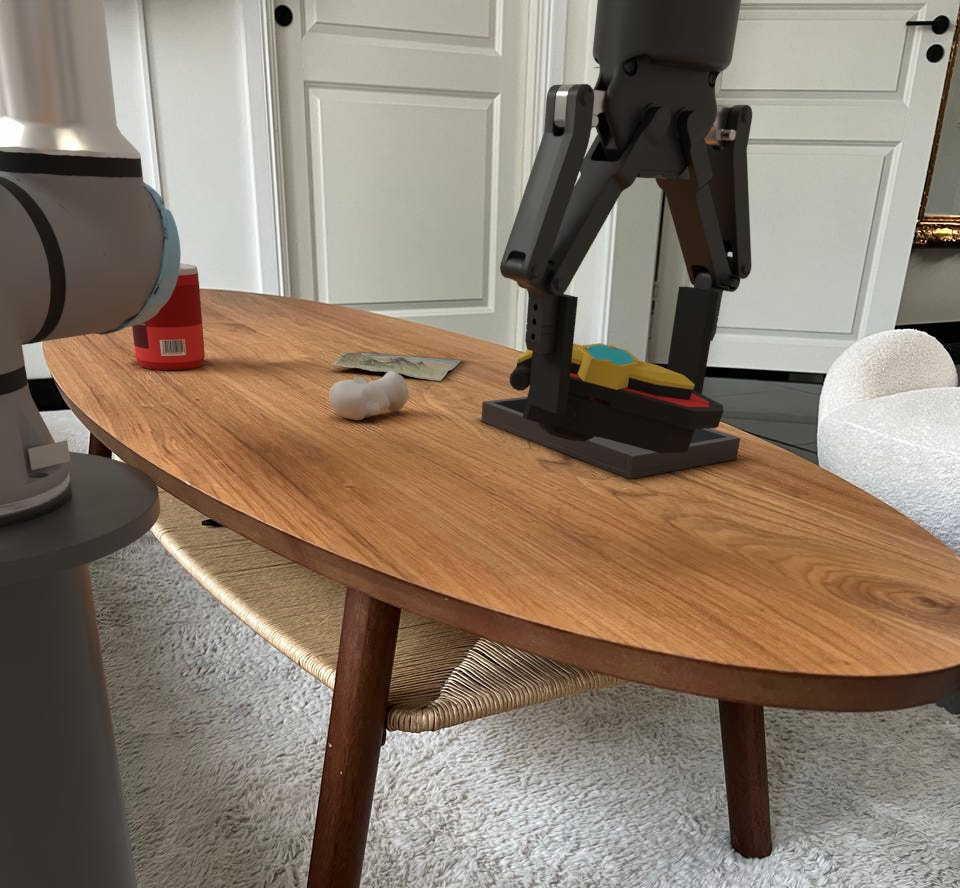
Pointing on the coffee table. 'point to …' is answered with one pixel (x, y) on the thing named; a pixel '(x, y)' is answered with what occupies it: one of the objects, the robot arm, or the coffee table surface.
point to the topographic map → (399, 364)
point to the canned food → (174, 328)
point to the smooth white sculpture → (368, 396)
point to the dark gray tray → (613, 444)
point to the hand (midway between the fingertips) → (618, 400)
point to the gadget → (623, 401)
